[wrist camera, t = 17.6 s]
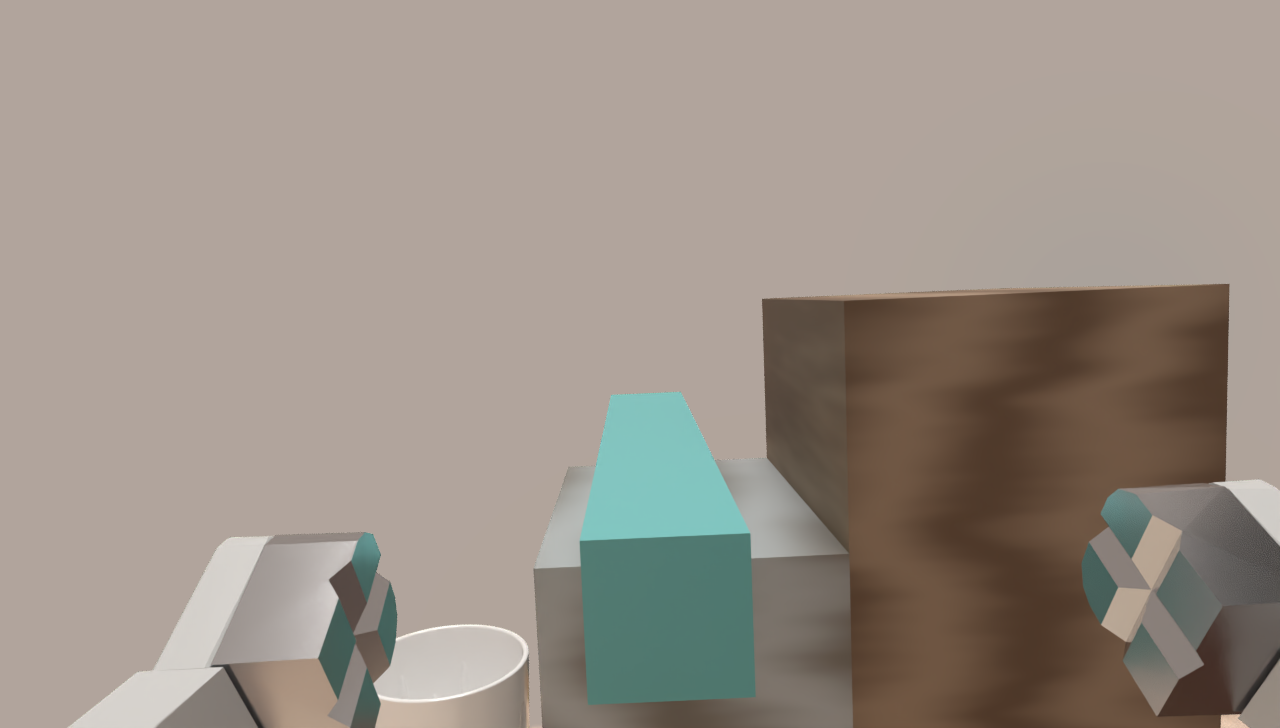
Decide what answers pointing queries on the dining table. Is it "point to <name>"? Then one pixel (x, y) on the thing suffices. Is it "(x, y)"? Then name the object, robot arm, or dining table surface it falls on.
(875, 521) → the stand
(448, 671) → the white cup
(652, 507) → the teal bar
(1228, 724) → the dining table surface
